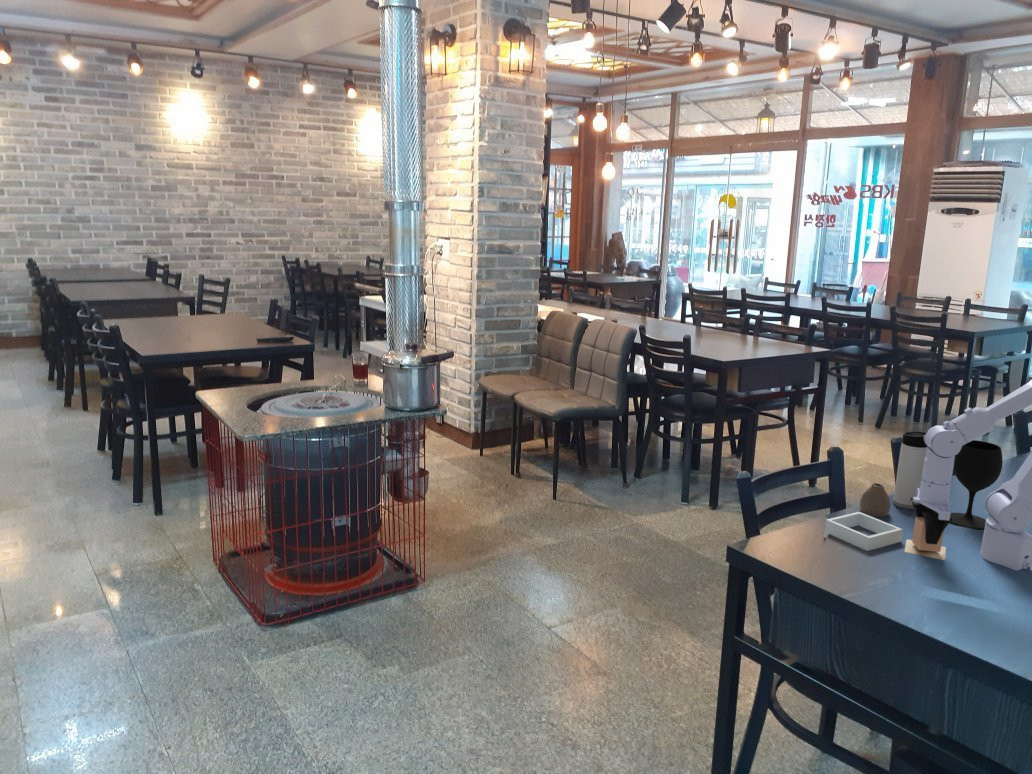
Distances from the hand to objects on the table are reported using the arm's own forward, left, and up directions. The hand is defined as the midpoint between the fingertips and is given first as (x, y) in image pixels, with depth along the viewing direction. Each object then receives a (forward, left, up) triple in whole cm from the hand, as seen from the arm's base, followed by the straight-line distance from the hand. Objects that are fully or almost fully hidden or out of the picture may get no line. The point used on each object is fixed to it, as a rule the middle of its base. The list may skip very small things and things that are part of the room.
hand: (927, 538), depth 177 cm
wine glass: (+8, -29, -4) cm, 30 cm away
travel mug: (+22, -25, -4) cm, 34 cm away
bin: (+11, +7, -4) cm, 14 cm away
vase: (+20, -9, -4) cm, 22 cm away
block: (0, 0, -2) cm, 2 cm away
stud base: (0, 0, -4) cm, 4 cm away
